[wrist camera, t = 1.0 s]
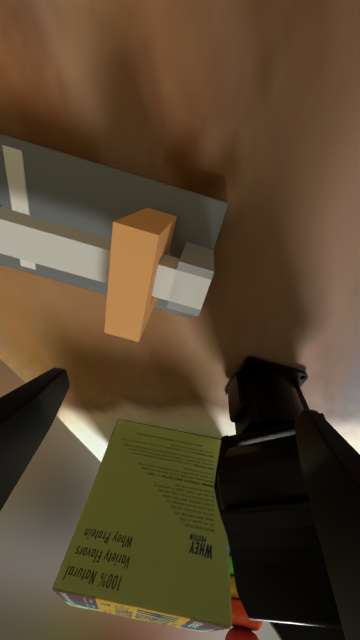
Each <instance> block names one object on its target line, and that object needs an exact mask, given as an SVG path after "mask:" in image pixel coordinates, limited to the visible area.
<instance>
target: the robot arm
mask: <svg viewBox="0 0 360 640" xmlns="http://www.w3.org/2000/svg"><path fill="white" fill-rule="evenodd" d="M250 361H252V362H250ZM307 378H308V375H307V373H306V372H304V371H301V370H298V369H294V368H290V367H287V366H283V365H279V364H276V363H272V362H269V361H265V360H261V359H258V358H254V357H247V358H246V359H245V361H244V363H243V364H242V366H241V368H240V370H239V371H238V372H236V373H235V375H234V377H233V378H232V380H231V382H230V384H229V385H228V387H227V392H226V398H227V399H228V403H229V415H230V420H231V422H234V423H235V428H236V435H232V436H228V435H227V436H223V437H222V439H221V445H220V451H219V457H218V463H217V469H216V475H215V483H214V490H215V494H216V500H217V505H218V509H219V512H220V516H221V519H222V522H223V525H224V528H225V531H226V535H227V539H228V543H229V547H230V552H231V558H232V564H233V570H234V577H235V584H236V590H237V594H238V596H239V598H240V600H241V603H242V605H243V607H244V609H245V611H246V614H247V616H248V617H249V618H250V619H251V620H257V621H267V622H270V624H271V626H272V627H273V629H274V630H275V632H276V633H277V635H278V636H279V638H280V639H281V640H360V455H359V453H358V452H357V451H356V450H355V449H354V448H353V447H352V446H351V445H350V444H349V443H348V442H347V441H346V440H345V439H344V438H343V437H342V436H341V435H340V434H339V433H338V432H337V431H336V430H335V429H334V428H333V427H332V426H331V425H330V424H329V423H328V422H327V421H326V419H325V417H324V415H323V413H320V414H319V413H318V412H317V411H315V410H310V409H309V407H308V405H307V403H306V400H305V398H304V396H303V393H302V391H301V389H300V387H301V386H302V384H303V383H304V382H305V381H306V380H307ZM68 389H69V379H68V375H67V371H66V370H65V369H62V368H52V369H51V370H49V371H47V372H45V373H43V374H42V375H40V376H38V377H36V378H34V379H33V380H31V381H29V382H27V383H26V384H24V385H22V386H20V387H19V388H17V389H15V390H13V391H11V392H10V393H8V394H6V395H4V396H2V397H1V398H0V510H1V509H2V507H3V506H4V504H5V502H6V501H7V499H8V497H9V495H10V494H11V492H12V490H13V489H14V487H15V485H16V484H17V482H18V480H19V479H20V477H21V476H22V474H23V472H24V471H25V469H26V467H27V465H28V464H29V462H30V461H31V459H32V457H33V455H34V454H35V452H36V450H37V449H38V447H39V446H40V444H41V442H42V440H43V439H44V437H45V436H46V434H47V432H48V430H49V429H50V427H51V425H52V423H53V421H54V419H55V417H56V415H57V413H58V410H59V408H60V406H61V404H62V402H63V400H64V398H65V396H66V394H67V391H68Z"/></svg>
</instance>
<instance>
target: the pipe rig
mask: <svg viewBox="0 0 360 640" xmlns="http://www.w3.org/2000/svg"><path fill="white" fill-rule="evenodd" d="M228 205H229V203H228V202H225V201H222V200H219V199H216V198H212V197H209V196H206V195H202V194H199V193H196V192H192V191H189V190H186V189H183V188H179V187H176V186H173V185H169V184H166V183H163V182H159V181H156V180H153V179H150V178H146V177H143V176H140V175H136V174H133V173H130V172H126V171H123V170H120V169H117V168H113V167H110V166H107V165H103V164H100V163H97V162H93V161H90V160H87V159H84V158H80V157H77V156H74V155H70V154H67V153H64V152H60V151H57V150H54V149H51V148H47V147H44V146H41V145H37V144H34V143H31V142H28V141H24V140H21V139H18V138H14V137H11V136H8V135H4V134H1V133H0V265H3V266H7V267H10V268H14V269H17V270H21V271H25V272H28V273H32V274H35V275H39V276H42V277H46V278H50V279H53V280H57V281H60V282H64V283H67V284H71V285H75V286H78V287H82V288H85V289H89V290H92V291H96V292H100V293H103V294H107V292H108V279H109V266H110V253H111V240H112V228H113V222H114V221H116V220H119V219H121V218H123V217H126V216H128V215H131V214H133V213H135V212H138V211H140V210H143V209H145V208H151V209H154V210H157V211H161V212H164V213H167V214H171V215H174V216H177V219H176V223H175V228H174V232H173V237H172V241H171V245H170V250H169V254H168V255H165V254H163V255H162V256H161V258H160V259H159V263H158V268H157V273H156V278H155V283H154V287H153V292H152V296H153V297H157V298H158V300H157V302H156V304H155V306H154V308H157V309H160V310H164V311H167V312H171V313H174V314H178V315H182V316H185V317H189V318H191V315H194V316H199V314H200V311H201V308H202V305H203V302H204V300H205V297H206V294H207V291H208V288H209V286H210V283H211V280H212V277H213V275H214V272H215V271H214V251H213V250H214V247H215V244H216V241H217V238H218V235H219V232H220V229H221V226H222V223H223V220H224V217H225V214H226V211H227V208H228Z"/></svg>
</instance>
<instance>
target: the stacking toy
mask: <svg viewBox="0 0 360 640" xmlns="http://www.w3.org/2000/svg"><path fill="white" fill-rule="evenodd" d="M229 564H230V586H231V608H232V626H233V628H232V629H230V630H229V632H228V633H227V635H226V638H225V640H259V639H258V638H257V636H256V635H255V634H254V633H253V632H252V631H258V630H260V628H261V627H262V621H257V620H251V619H250V618H249V617H248V616H247V614H246V611H245V609H244V607H243V605H242V603H241V600H240V598H239V596H238V594H237V590H236V584H235V577H234V570H233V564H232V558H231V552H230V547H229ZM251 630H252V631H251Z"/></svg>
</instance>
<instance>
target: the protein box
mask: <svg viewBox="0 0 360 640" xmlns="http://www.w3.org/2000/svg"><path fill="white" fill-rule="evenodd" d="M220 445H221V440H220V439H215V438H210V437H205V436H199V435H195V434H189V433H184V432H179V431H174V430H169V429H164V428H159V427H154V426H149V425H144V424H139V423H134V422H128V421H123V420H118V421H117V423H116V426H115V428H114V431H113V433H112V436H111V439H110V441H109V444H108V447H107V449H106V452H105V454H104V457H103V460H102V462H101V465H100V467H99V470H98V473H97V475H96V478H95V481H94V483H93V486H92V488H91V491H90V493H89V496H88V499H87V501H86V504H85V506H84V509H83V512H82V514H81V517H80V520H79V522H78V524H77V527H76V530H75V532H74V535H73V537H72V540H71V542H70V545H69V547H68V550H67V553H66V555H65V558H64V560H63V563H62V565H61V568H60V571H59V573H58V576H57V578H56V581H55V583H54V586H53V590H54V591H55V592H56V593H57V594H58V595H59V596H60V597H61V598H63V599H64V600H65V602H67V603H68V604H69V605H71V606H74V607H79V608H84V609H91V610H97V611H102V612H106V613H110V614H114V615H119V616H123V617H128V618H132V619H137V620H143V621H148V622H153V623H160V624H164V625H169V626H174V627H178V628H184V629H189V630H194V631H200V632H210V631H217V630H223V629H229V628H230V627H231V626H232V608H231V586H230V564H229V543H228V539H227V535H226V531H225V528H224V525H223V522H222V519H221V516H220V512H219V509H218V505H217V500H216V494H215V490H214V483H215V475H216V469H217V463H218V457H219V451H220Z"/></svg>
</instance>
